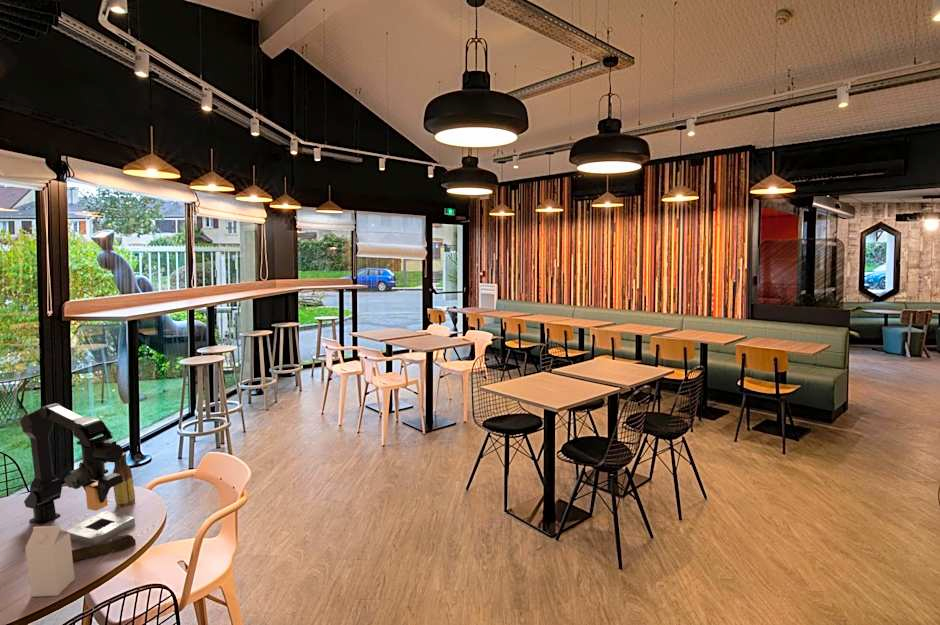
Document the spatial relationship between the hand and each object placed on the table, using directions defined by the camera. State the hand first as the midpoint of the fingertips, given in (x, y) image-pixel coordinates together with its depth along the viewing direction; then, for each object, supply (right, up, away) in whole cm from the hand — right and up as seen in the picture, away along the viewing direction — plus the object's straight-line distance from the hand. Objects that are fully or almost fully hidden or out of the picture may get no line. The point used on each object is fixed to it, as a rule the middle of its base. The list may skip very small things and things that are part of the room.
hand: (97, 501), depth 175 cm
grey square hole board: (0, -11, +2) cm, 11 cm away
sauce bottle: (-4, -9, +21) cm, 23 cm away
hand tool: (+8, -13, -10) cm, 19 cm away
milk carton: (+7, -16, -26) cm, 31 cm away
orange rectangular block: (0, -2, 0) cm, 2 cm away
